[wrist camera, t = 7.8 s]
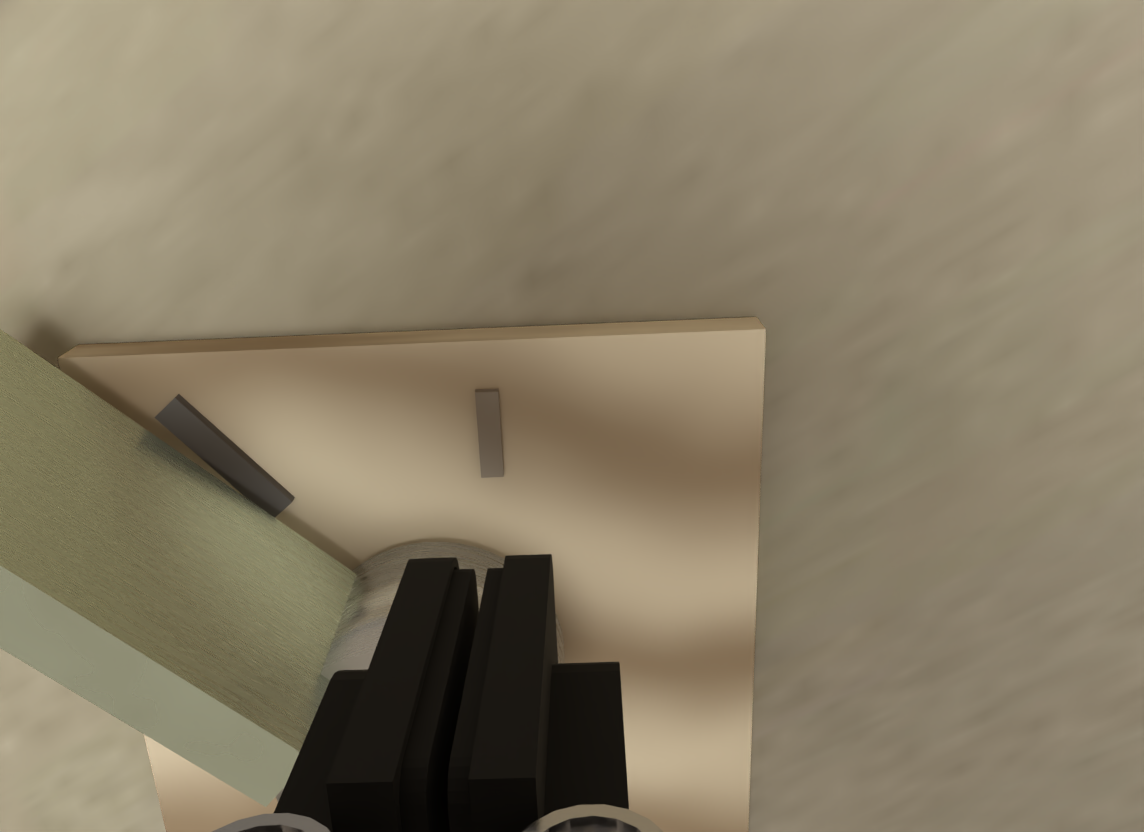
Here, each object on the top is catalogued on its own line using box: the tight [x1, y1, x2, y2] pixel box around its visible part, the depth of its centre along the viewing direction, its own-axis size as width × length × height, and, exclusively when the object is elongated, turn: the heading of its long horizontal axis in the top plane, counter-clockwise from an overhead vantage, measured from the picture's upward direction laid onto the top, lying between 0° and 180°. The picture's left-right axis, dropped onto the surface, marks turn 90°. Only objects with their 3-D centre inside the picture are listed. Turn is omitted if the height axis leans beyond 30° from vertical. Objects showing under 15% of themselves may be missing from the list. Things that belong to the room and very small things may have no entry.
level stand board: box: [57, 317, 766, 832], centre depth 29 cm, size 18×18×2 cm
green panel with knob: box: [0, 329, 564, 807], centre depth 23 cm, size 18×7×8 cm, turn 50°
